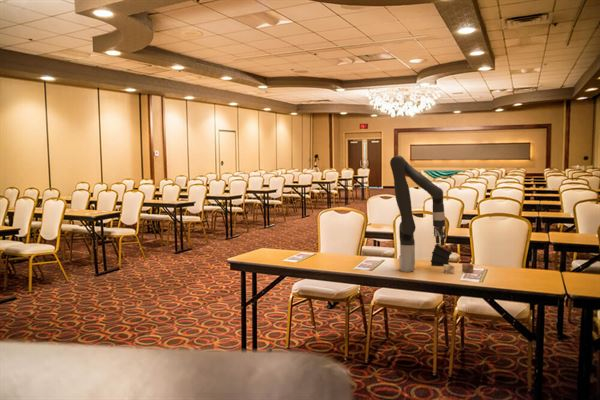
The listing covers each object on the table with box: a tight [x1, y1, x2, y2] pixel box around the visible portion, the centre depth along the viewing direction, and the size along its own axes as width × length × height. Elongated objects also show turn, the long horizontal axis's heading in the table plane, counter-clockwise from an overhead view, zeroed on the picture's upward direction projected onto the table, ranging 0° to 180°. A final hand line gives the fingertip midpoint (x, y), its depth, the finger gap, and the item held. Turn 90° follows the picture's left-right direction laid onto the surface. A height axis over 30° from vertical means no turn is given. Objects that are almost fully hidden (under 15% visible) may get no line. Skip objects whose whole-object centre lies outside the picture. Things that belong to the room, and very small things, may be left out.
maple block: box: [443, 263, 455, 275], centre depth 300 cm, size 5×5×5 cm
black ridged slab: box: [430, 243, 453, 267], centre depth 326 cm, size 4×13×15 cm, turn 54°
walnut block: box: [461, 263, 474, 274], centre depth 301 cm, size 5×5×5 cm
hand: (440, 244), depth 307 cm, fingers open, 8 cm apart
